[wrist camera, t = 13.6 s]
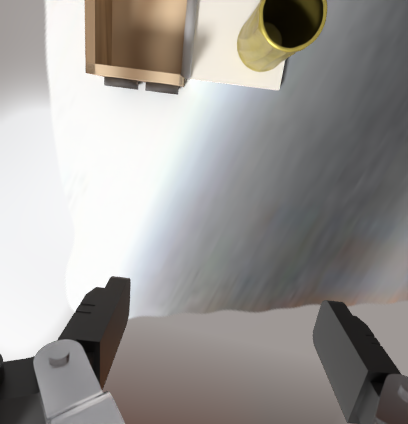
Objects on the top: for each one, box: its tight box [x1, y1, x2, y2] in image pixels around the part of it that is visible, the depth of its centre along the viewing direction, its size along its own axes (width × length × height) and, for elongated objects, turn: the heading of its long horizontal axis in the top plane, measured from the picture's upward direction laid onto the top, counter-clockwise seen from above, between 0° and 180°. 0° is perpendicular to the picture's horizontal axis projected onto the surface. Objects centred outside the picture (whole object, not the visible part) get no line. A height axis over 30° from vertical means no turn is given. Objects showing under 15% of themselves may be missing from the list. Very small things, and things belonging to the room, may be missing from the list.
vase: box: [237, 0, 327, 72], centre depth 30 cm, size 6×6×14 cm
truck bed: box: [85, 0, 187, 94], centre depth 34 cm, size 10×14×7 cm
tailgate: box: [181, 0, 285, 90], centre depth 37 cm, size 12×10×2 cm
